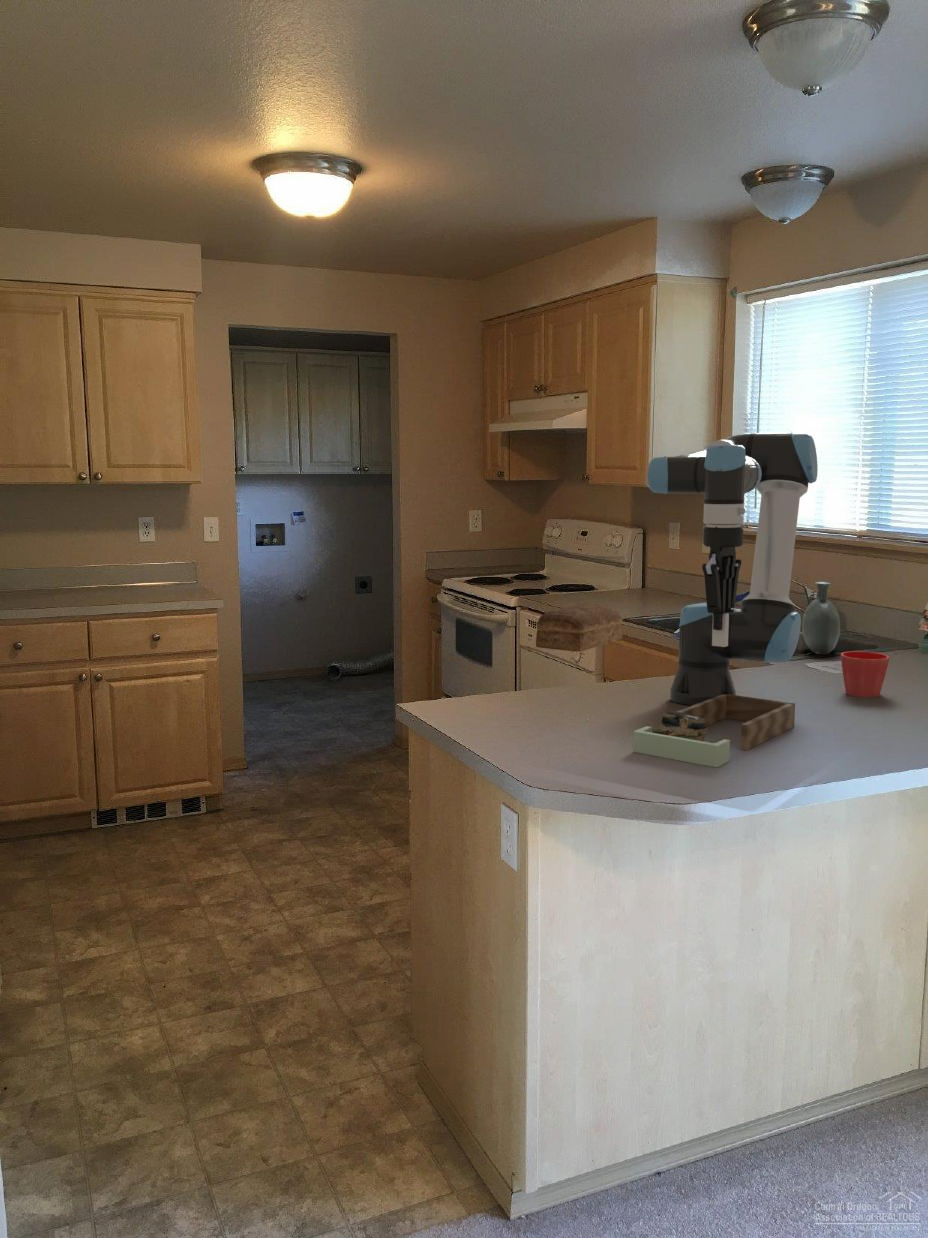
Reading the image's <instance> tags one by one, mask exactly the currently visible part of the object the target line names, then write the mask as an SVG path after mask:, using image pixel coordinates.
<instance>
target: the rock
mask: <svg viewBox="0 0 928 1238" xmlns="http://www.w3.org/2000/svg"><path fill="white" fill-rule="evenodd" d="M705 724H706V720H705V719H704V718H699V717H695V716H692V715H687V714H685V713H682V712H677V711H665V712H663V714H662V719H661V723H660V725H659V728H658V729H652V733H656V734H662V735H668V736H674V737H680V738H685V739H691V740H697V741H703V742H705V740H704V739H705V737H706V736H707V735H708V733H709V732H708V731H709V729H708V726H705Z"/></svg>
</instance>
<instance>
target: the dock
mask: <svg viewBox="0 0 928 1238" xmlns="http://www.w3.org/2000/svg"><path fill="white" fill-rule="evenodd" d="M652 730H653V727H652V726H649V725H646V726H644V727H642V728H638V729H636V730H634V731H633V734H632V735H633V736H632V737H633V739H632V752H633V753H637V754H643V755H647V756H653V757H659V758H665V759H669V760H675V761H680V762H681V761H682V762H687V763H691V764H695V765H696V764H697V765H701V766H702V765H703V766H706V767H712V768H718V767H721V766H723V765H725V764H727V763H729V762H730V754H731V753H730V751H731V750H730V749H731V740H730V739H725V738H724V739H722V740H719V741H717V742H715V743H714V742H708V741H704V742H703V741H697V740H691V739H685V738H680V737H674V736H668V735H662V734H656V733H652Z"/></svg>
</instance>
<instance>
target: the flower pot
mask: <svg viewBox="0 0 928 1238" xmlns="http://www.w3.org/2000/svg"><path fill="white" fill-rule="evenodd" d="M840 661H841V668H842V677H843V683H844V688H845V693H846V694H847V695H849V696H853V697H858V698H876V697H879V696H880V694H881V692H882V688H883V684H884V682H885V677H886V673H887V670H888V666H889V661H890V656H889V655H886V654H883V653H879V652H872V651H861V650H859V651H857V650H856V651H855V650H853V651H844V652H842V653H840Z"/></svg>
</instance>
